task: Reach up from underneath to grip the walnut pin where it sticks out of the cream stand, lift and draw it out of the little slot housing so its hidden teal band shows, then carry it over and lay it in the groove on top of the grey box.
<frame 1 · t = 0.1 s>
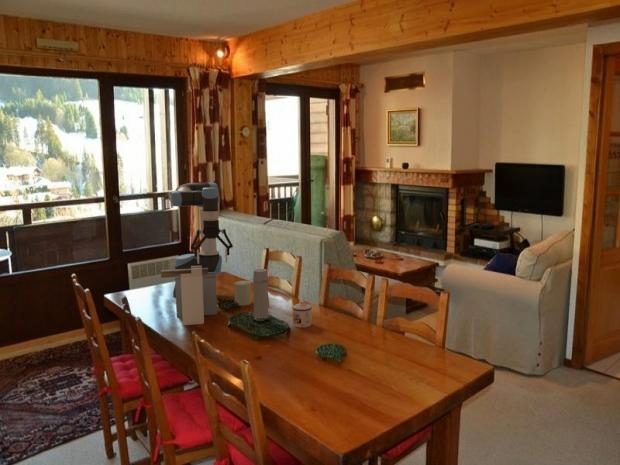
hand: (212, 262, 263), 28 cm above the table, tool pointing down, fingers open, 13 cm apart
water bottle: (262, 320, 264), on the table
can: (242, 303, 293), on the table
walnut pin: (185, 275, 258), point 23 cm above the table, touching cream stand
cream stand: (193, 321, 262), on the table
grey box: (196, 313, 275), on the table
teacup with lid: (304, 326, 254), on the table
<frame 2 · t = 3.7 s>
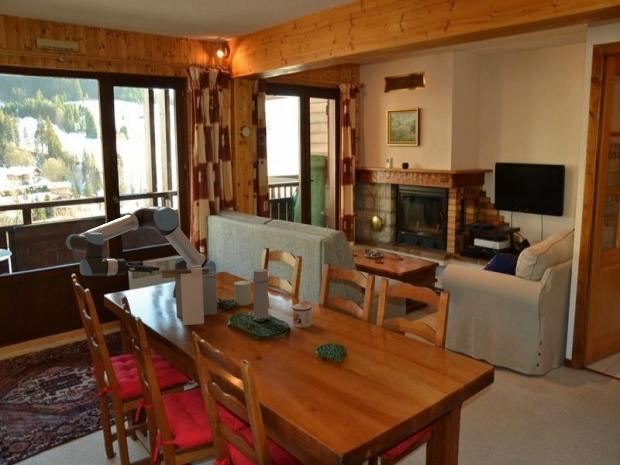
hand: (160, 266, 262), 27 cm above the table, tool horizontal, fingers open, 13 cm apart
walnut pin: (185, 275, 258), point 23 cm above the table, touching cream stand, gripper
everything else where it was.
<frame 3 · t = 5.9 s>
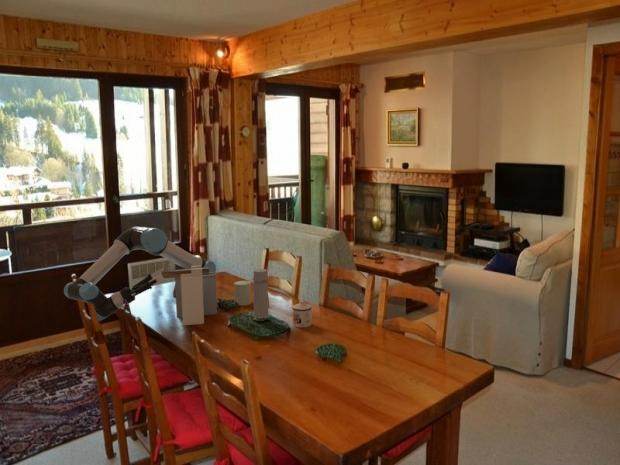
hand: (163, 273, 255), 25 cm above the table, tool pointing upward, fingers open, 13 cm apart
walnut pin: (185, 275, 258), point 23 cm above the table, touching cream stand
everything else where it was.
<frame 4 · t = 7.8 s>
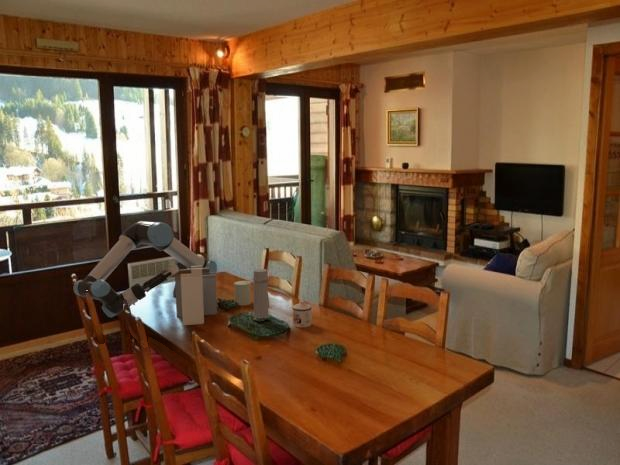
hand: (177, 267, 257), 27 cm above the table, tool pointing upward
walnut pin: (186, 275, 258), point 23 cm above the table, touching gripper
everything else where it was.
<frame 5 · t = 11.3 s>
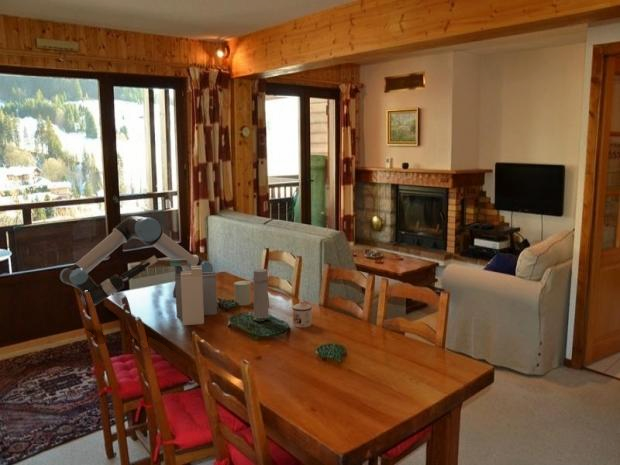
hand: (155, 258, 262), 31 cm above the table, tool pointing upward, fingers closed on walnut pin, 3 cm apart
walnut pin: (164, 266, 264), point 26 cm above the table, touching gripper
everything else where it was.
when the fingers open (25 cm above the table, at t = 14.4 s): walnut pin drops 2 cm, resting on grey box.
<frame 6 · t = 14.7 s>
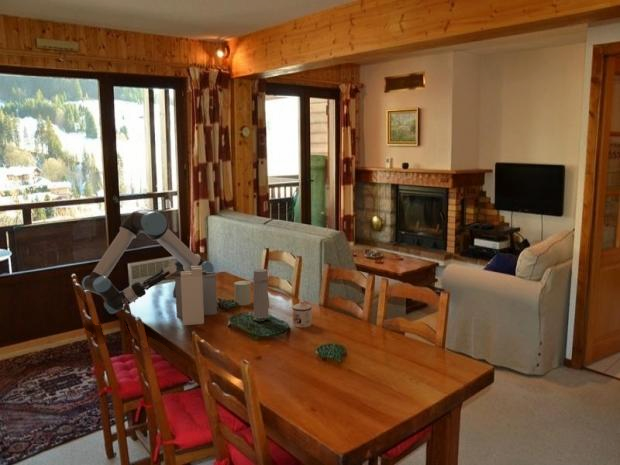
hand: (175, 266, 269), 25 cm above the table, tool pointing upward, fingers open, 6 cm apart
walnut pin: (184, 278, 271), point 19 cm above the table, touching grey box
everything else where it was.
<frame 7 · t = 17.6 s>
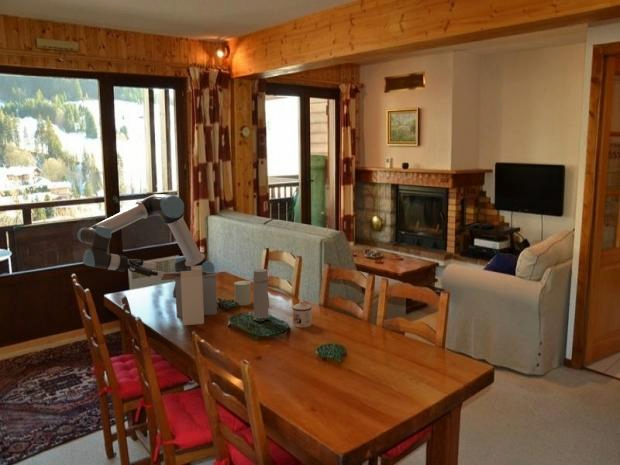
hand: (159, 270, 272), 23 cm above the table, tool tilted 70°, fingers open, 13 cm apart
walnut pin: (184, 278, 271), point 19 cm above the table
everything else where it was.
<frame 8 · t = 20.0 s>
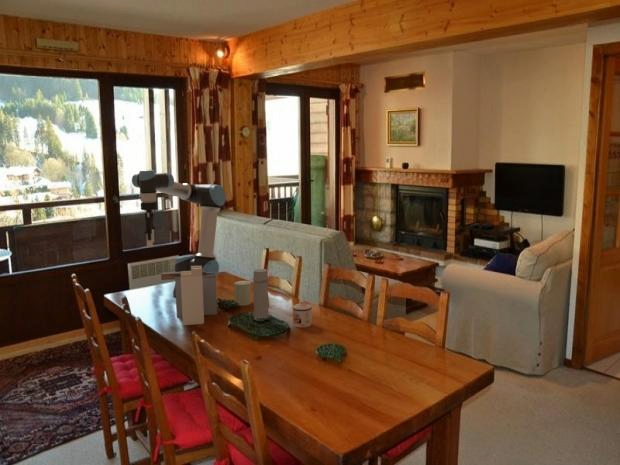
hand: (150, 244, 266), 37 cm above the table, tool pointing down, fingers open, 13 cm apart
walnut pin: (184, 278, 271), point 19 cm above the table, touching grey box
everything else where it was.
at the end: walnut pin inside the target area on the grey box (2.1 cm from its centre), point 19.0 cm above the grey box's base; the gripper is holding nothing; walnut pin moved 13.1 cm from its start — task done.
